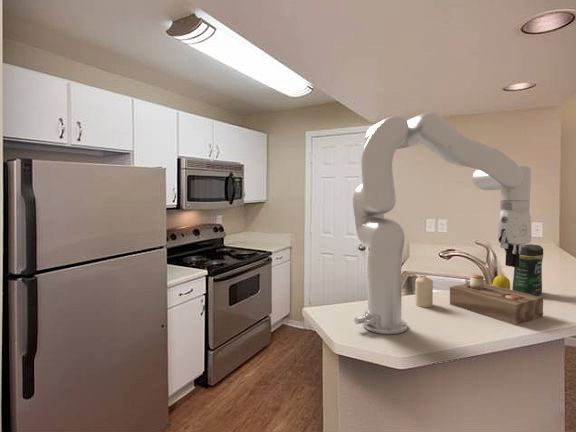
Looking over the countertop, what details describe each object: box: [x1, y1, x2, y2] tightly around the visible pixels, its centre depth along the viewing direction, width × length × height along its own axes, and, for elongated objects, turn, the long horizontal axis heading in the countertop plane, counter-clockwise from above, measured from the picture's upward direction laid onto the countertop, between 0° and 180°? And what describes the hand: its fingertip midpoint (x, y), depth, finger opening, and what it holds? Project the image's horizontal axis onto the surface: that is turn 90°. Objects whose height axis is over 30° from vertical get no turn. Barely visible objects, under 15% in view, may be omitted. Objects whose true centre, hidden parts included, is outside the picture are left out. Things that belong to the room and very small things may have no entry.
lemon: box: [492, 274, 511, 290], centre depth 128 cm, size 6×6×8 cm
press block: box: [449, 282, 544, 326], centre depth 113 cm, size 14×22×6 cm, turn 27°
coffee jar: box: [511, 243, 544, 296], centre depth 130 cm, size 10×8×19 cm
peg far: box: [469, 274, 485, 290], centre depth 119 cm, size 4×4×6 cm
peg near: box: [505, 295, 521, 300], centre depth 108 cm, size 4×4×6 cm
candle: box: [414, 275, 434, 308], centre depth 120 cm, size 6×6×10 cm
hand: (512, 266), depth 107 cm, fingers closed
